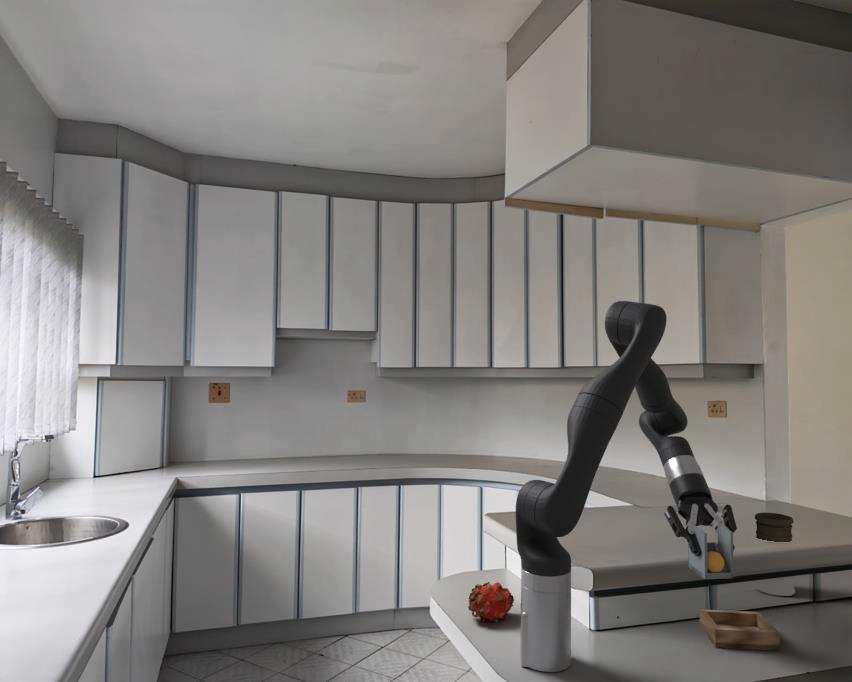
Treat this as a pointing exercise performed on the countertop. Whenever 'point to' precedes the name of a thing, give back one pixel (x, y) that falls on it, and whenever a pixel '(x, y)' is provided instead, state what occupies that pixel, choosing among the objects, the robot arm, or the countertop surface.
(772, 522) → the container
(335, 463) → the countertop surface
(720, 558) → the ball
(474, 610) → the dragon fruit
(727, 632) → the tray
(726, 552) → the holder
